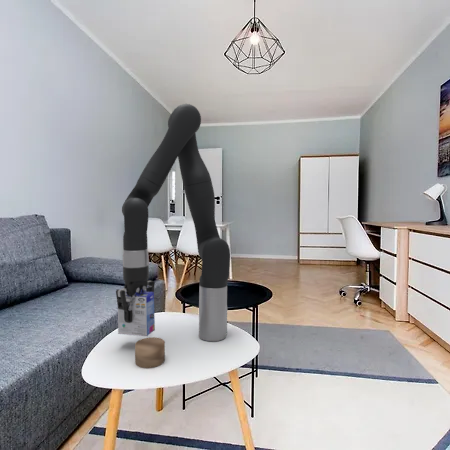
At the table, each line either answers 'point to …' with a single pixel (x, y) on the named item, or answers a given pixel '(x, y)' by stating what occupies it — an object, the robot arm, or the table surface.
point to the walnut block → (149, 352)
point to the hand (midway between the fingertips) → (136, 318)
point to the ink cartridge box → (139, 316)
